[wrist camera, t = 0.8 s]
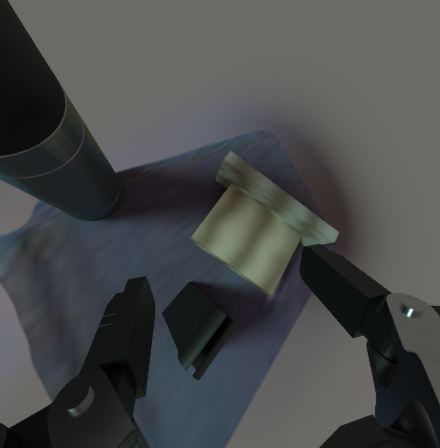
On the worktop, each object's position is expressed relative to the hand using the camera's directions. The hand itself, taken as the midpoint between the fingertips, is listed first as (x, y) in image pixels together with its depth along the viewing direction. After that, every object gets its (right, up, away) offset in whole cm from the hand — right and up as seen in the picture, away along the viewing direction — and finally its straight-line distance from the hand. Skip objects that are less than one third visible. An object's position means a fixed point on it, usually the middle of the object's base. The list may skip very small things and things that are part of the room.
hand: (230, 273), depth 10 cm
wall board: (+4, 0, +25) cm, 25 cm away
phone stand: (-4, -12, +20) cm, 24 cm away
